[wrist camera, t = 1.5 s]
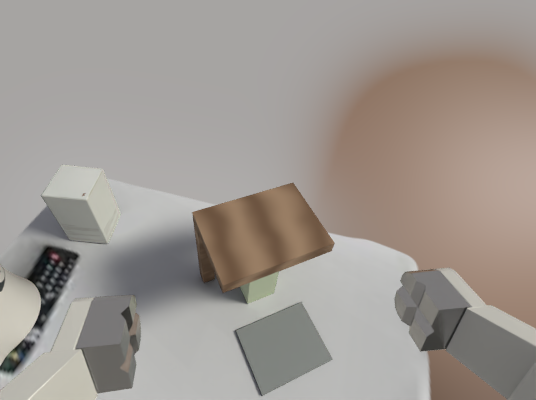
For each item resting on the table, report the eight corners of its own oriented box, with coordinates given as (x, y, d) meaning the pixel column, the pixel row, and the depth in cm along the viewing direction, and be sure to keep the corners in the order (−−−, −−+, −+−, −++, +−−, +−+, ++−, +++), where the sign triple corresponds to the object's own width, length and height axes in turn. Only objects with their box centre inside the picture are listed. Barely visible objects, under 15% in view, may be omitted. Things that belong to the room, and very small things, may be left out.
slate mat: (262, 395, 49) (262, 395, 49) (236, 331, 55) (236, 330, 54) (331, 359, 53) (332, 358, 53) (301, 303, 59) (301, 302, 58)
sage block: (247, 303, 58) (250, 272, 49) (236, 279, 61) (237, 245, 52) (273, 293, 59) (281, 260, 51) (261, 269, 62) (267, 235, 54)
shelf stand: (224, 336, 54) (222, 285, 41) (200, 273, 61) (192, 212, 47) (310, 298, 59) (334, 243, 46) (280, 244, 66) (293, 182, 53)
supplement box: (122, 213, 68) (104, 168, 58) (108, 245, 63) (86, 200, 53) (85, 209, 67) (61, 163, 58) (67, 240, 63) (38, 195, 53)
